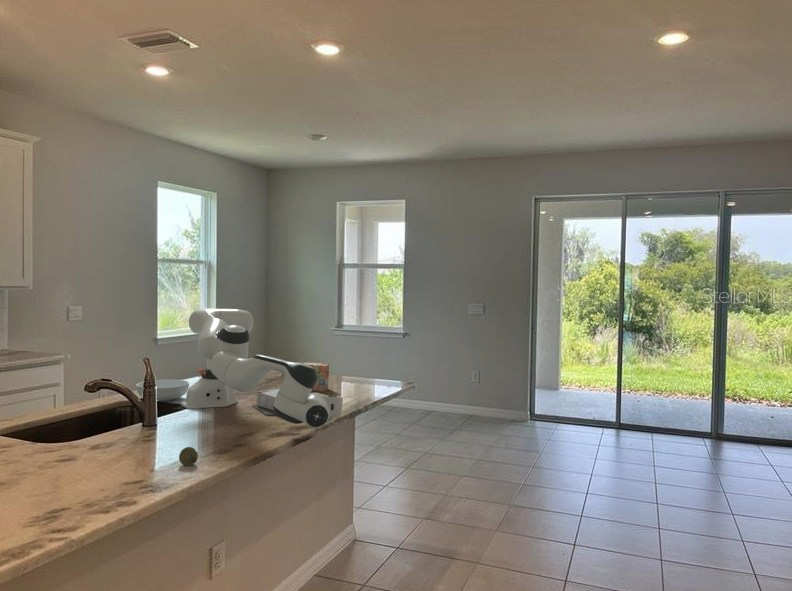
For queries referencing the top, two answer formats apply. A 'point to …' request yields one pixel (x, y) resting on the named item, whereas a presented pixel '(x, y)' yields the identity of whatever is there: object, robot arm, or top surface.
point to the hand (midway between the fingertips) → (313, 398)
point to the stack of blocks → (318, 376)
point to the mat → (265, 410)
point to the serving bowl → (167, 389)
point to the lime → (188, 456)
